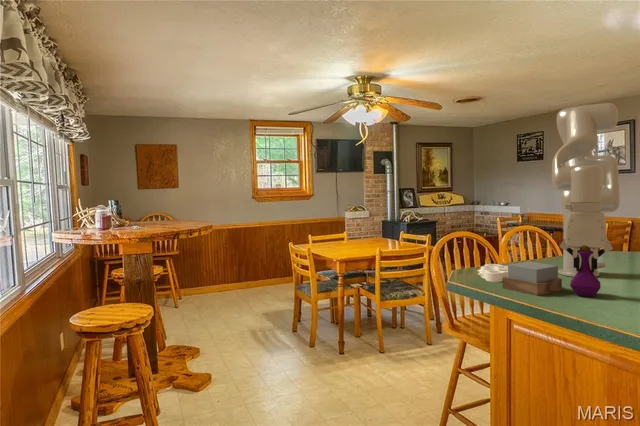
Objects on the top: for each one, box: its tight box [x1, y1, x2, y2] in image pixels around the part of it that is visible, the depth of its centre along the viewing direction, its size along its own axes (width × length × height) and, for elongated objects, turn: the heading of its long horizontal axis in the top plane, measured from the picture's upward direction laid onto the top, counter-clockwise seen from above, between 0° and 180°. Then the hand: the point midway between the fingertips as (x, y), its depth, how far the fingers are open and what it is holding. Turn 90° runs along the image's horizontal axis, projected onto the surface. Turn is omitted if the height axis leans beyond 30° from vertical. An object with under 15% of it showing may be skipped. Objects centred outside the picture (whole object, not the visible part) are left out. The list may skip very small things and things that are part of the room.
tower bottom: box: [502, 276, 563, 297], centre depth 137 cm, size 12×12×4 cm
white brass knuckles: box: [477, 263, 508, 283], centre depth 156 cm, size 3×18×15 cm
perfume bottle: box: [569, 245, 602, 298], centre depth 127 cm, size 8×8×18 cm
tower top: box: [507, 261, 559, 283], centre depth 136 cm, size 10×10×4 cm
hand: (585, 270), depth 128 cm, fingers closed on perfume bottle, 3 cm apart
